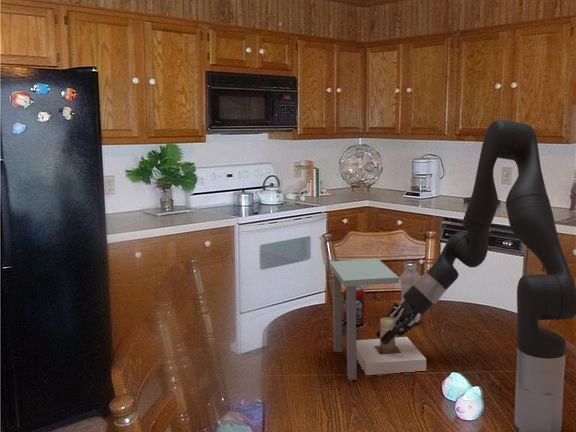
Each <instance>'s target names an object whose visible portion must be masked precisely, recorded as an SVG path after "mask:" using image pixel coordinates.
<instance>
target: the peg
mask: <svg viewBox="0 0 576 432" xmlns="http://www.w3.org/2000/svg"><path fill="white" fill-rule="evenodd" d="M394 320H395V319H394V318H391V317H386V316H384V317H380V320H379V329H380V338H381V337H382V336H383V335H384V334H385V333H386V332H387V331H388V330H390V328H391V327H392V325H393V324H394ZM380 338H379V339H380ZM395 338H396V335H395V336H394V337H393V338H392V340H391V341H390V342H389V343H388V344H387V345H385V344H383V343H382V342H381V340H380V353H381V354H395Z"/></svg>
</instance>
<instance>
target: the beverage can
mask: <svg viewBox="0 0 576 432" xmlns="http://www.w3.org/2000/svg"><path fill="white" fill-rule="evenodd" d="M365 297H366V293H365V291H364V289H363V286H362V285H360V286H356V320H361V321H362V322H363V324H364V323H365V321H366V320H365V319H366V312H365V311H366V309H365V308H366V299H365ZM346 321H347V309H346V288H345V289H344V290H343V322H344V323H345V322H346Z"/></svg>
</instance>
